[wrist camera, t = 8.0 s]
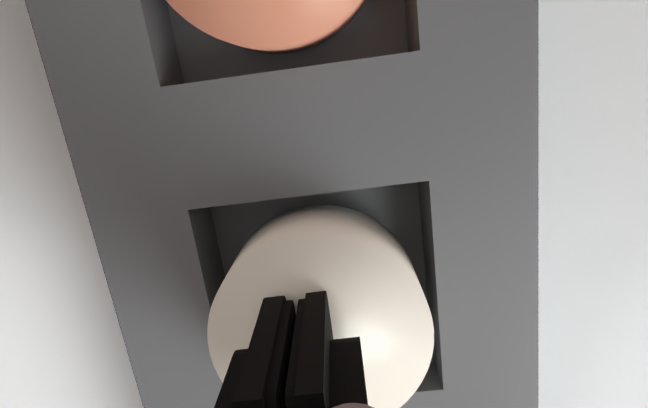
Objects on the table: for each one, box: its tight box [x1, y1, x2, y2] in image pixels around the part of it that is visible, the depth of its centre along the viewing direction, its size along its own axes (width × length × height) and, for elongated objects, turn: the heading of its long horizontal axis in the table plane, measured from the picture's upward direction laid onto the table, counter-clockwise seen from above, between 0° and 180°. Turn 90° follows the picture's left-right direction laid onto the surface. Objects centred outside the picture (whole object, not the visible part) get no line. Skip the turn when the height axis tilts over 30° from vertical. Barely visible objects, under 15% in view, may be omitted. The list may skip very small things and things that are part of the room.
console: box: [25, 0, 538, 408], centre depth 16 cm, size 13×32×5 cm, turn 8°
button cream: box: [207, 205, 434, 408], centre depth 13 cm, size 6×6×3 cm
